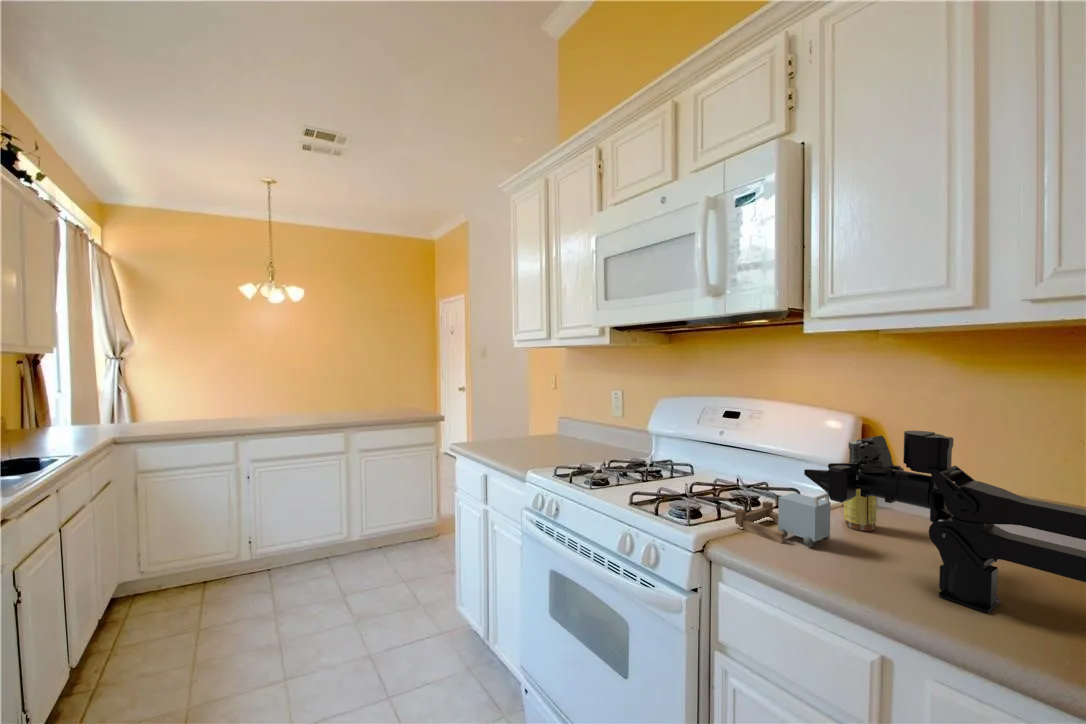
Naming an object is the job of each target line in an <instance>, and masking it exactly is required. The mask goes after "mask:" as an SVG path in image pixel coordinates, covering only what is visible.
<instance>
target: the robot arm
mask: <svg viewBox="0 0 1086 724" xmlns="http://www.w3.org/2000/svg"><path fill="white" fill-rule="evenodd" d="M855 441H856V445H857V448H858V451H859V453H860V456H861V459H862V460H861V461H859V462H858V463H849V462H831V463H830V462H829V463H828V464H827V469H828V470H827V469H812V468H811V469H808V468H807V469H804V471H803V475H804V476H806V477H807V478H808V479H809V480H810V481H812V482H813V483H814V484H816V485H817V486H818V487H820V488H821V489H822V490H823V491H825V493H828V495H829V500H830V501H833V502H837V503H844V502H845V501H848V500H851V499H852V498H854V497H855V496H856V489H861V495H860V496H862V497H869V496H875V497H876V498H881V499H884V502H885V503H888V504H893V503H896V502H897V503H902V504H906V505H909V506H910V505H911V506H915V507H918V508H924V509H927V510H930V511H929V521H930V522H931V524H930V525H929V527H928V528H929V529H928V536H929V539H930V541H931V543H932V544H933V545H934V547H936V549H937V550H938V553H939V555H940V558H941V561H942V564H941V565H939V574H938V575H939V578H938V580H939V581H938V587H939V589H940V590H941V591H939V592H938V597H940V598H942V599H945V600H948V601H951V602H955V603H957V604H959V605H963V606H966V607H968V608H972V609H974V610H977V611H980V612H983V613H986V614H987V613H990V612H991V611H993V609H995V608H996V607H997V606H998V605H999V604H1001V601H1002V600H1001V598H1000V597H998V579H999V578H998V577H999V575H998V574H999V573H998V572H999V567H997V566H994V565H993V564H994V563H997V562H998V560H1001V561H1005V562H1009V563H1014V564H1018V565H1020V566H1024V567H1027V568H1032V569H1034V570H1039V571H1041V572H1042V571H1043V572H1046V573H1050V574H1052V575H1057V576H1061V577H1064V578H1068V579H1071V580H1075V581H1079V582H1082V583H1086V550H1083V549H1079V548H1075V547H1072V546H1067V545H1064V544H1058V543H1054V542H1051V541H1046V540H1042V539H1037V538H1034V537H1031V536H1030V537H1028V536H1024V535H1020V534H1016V533H1012V532H1009V531H1006V530H1005V529H1002V528H1001V527H1000V526H997V525H1013V526H1022V527H1025V528H1031V529H1035V530H1040V531H1044V532H1048V533H1052V534H1057V535H1062V536H1066V537H1070V538H1074V539H1078V540H1079V539H1080V540H1084V541H1086V509H1084V508H1078V507H1074V506H1067V505H1062V504H1058V503H1051V502H1049V501H1047V502H1046V501H1042V500H1036V499H1030V498H1028V497H1024V496H1021V495H1018V494H1016V493H1014V492H1011V491H1008V490H1007V489H1005V488H1002V487H999V486H996V485H993V484H989V483H987V482H983V481H980V480H975V479H974V478H973V477H971V476H970V475H968V473H966V472H965V471H964V470H963V469H961V467H959V466H957V465H952V452H953V451H952V450H953V448H954V437H951V436H946V435H943V434H940V433H936V432H933V431H925V430H906V431H903V458H902V459H903V461H902V462H903V464H905V468H908V469H910V471H907V470H904V467H901V465H896V464H894V462H893V460H892V454H891V451H890V449H889V446H888V444H887V443H888V442H887V441H886V439H885V437H884V436H883V435H876V436H871V437H866V438H861V439H857V440H855ZM928 474H929V475H928Z"/></svg>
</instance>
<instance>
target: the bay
mask: <svg viewBox="0 0 1086 724" xmlns="http://www.w3.org/2000/svg"><path fill="white" fill-rule="evenodd" d="M773 505H774V503H773V502H771V501H763V502H762V507H761V508H757V509H754V510H750V511H748V512H747V511H746V510H743V509H740V508H739V509H736V510H735V514H734V515H735V519H734V521H735V523H736V524H738V525H739V526H740V527H743V529H744V530H743V529H742V530H743V531H746V532H749V533H751V534H755V535H757V536H760V537H763V538H766V539H767V540H768V539H769V540H772V541H775V542H777V543H780V544H784V543H786V537H785V533H784V532H781V531H779V530H778V529H775V528H771V527H769V526H766V525H763V524H761V523H759V524H757V523H754V521H757V520H760V519H762V518H765V517H770V518H772V519H773V521H774V522H773V523H775V524H778V512H775V511H774V508H773ZM735 523H734V524H735Z"/></svg>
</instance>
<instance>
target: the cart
mask: <svg viewBox="0 0 1086 724" xmlns="http://www.w3.org/2000/svg"><path fill="white" fill-rule="evenodd" d="M823 499H824V500H823ZM831 504H832V503H831V502H830V497H829V495H828V493H827V492H825V493H824V494H819V495H817V496H814V497H812V496H808V495H805V494H800V493H796V492H792V493H789V494H785V495H782V496H781V495H780V496H778V512H777V513H778V525H777V528H778V529H777V530H778V531H781V532H784V533H785V538H787V537H788V534H791V535H793V536H797V537H800V538H802V541H803V545H804V546H805V547H807V548H809V547H812V546H813V545H814V542H818V541H820V540H824V541H827V540H828V539H830V537H831Z"/></svg>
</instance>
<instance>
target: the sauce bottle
mask: <svg viewBox="0 0 1086 724" xmlns="http://www.w3.org/2000/svg"><path fill="white" fill-rule="evenodd" d="M856 441H857V440H851V441H848V449H849V459H848V463H858V462H859V461H861V460H862V459H861V456H860V453H859V451H858V448H857V445H856ZM860 495H861V489H856V496H855V497H854V498H852V499H851V500H848V501H845V502H843V504H844V505H843V508H844V509H843V515H844V517H843V518H844V520H845V521H844V523H845V525H846V527H848V528H850V529H853V530H854V531H855V530H856V531H861V532H862V531H863V532H873V531H874V530H876V527H877V525H876V523H877V509H876V508H877V506H876V505H877V504H876V503H877V500H876V498H877V497H875V496H869V497H862V496H860Z"/></svg>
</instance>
